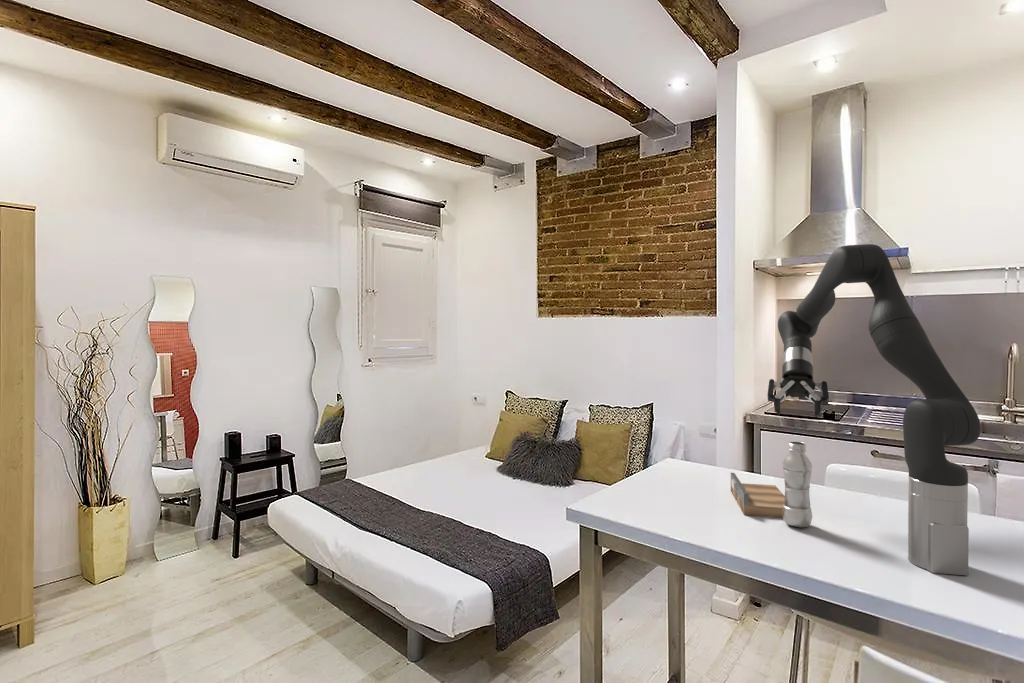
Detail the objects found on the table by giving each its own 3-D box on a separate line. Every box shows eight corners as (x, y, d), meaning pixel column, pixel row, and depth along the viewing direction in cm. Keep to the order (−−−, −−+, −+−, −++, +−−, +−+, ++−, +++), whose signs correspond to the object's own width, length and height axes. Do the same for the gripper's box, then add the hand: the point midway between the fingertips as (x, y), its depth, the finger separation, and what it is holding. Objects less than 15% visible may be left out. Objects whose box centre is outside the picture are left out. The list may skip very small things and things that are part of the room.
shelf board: (795, 518, 131) (795, 508, 131) (744, 514, 134) (744, 505, 134) (775, 493, 151) (775, 485, 151) (730, 491, 154) (730, 482, 153)
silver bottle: (781, 528, 125) (781, 444, 125) (782, 518, 131) (782, 439, 131) (812, 532, 122) (813, 447, 122) (811, 522, 128) (812, 441, 128)
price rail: (748, 505, 134) (748, 493, 134) (741, 505, 134) (741, 493, 134) (734, 482, 153) (734, 472, 153) (728, 482, 154) (728, 472, 154)
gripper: (768, 357, 147) (766, 403, 137) (827, 358, 140) (829, 407, 130) (769, 374, 152) (767, 420, 142) (826, 376, 145) (828, 424, 135)
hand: (797, 413), depth 136 cm, fingers open, 8 cm apart
